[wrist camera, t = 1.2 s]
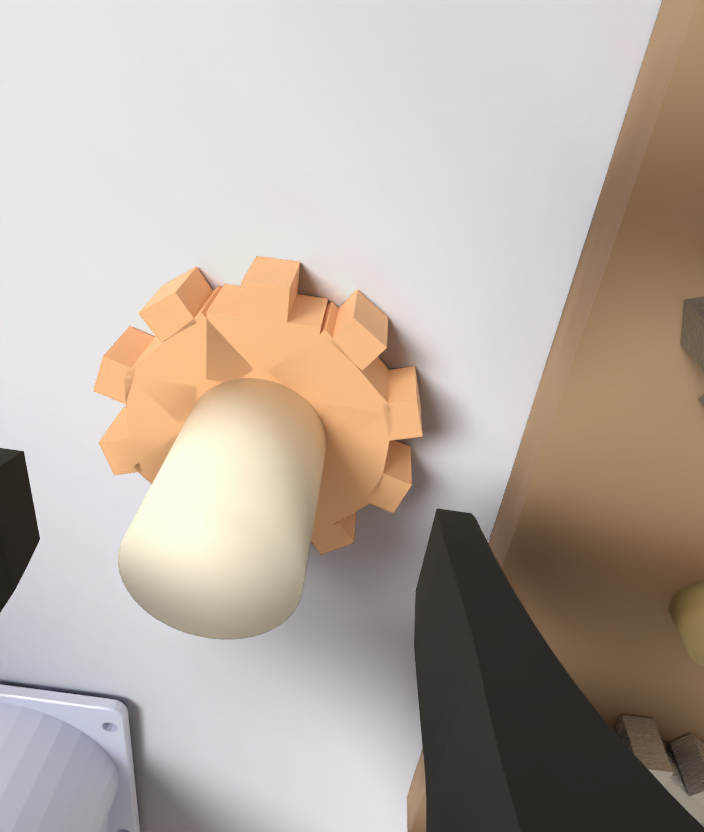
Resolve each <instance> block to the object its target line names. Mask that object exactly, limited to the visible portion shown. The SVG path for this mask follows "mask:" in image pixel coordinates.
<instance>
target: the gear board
mask: <svg viewBox="0 0 704 832" xmlns="http://www.w3.org/2000/svg"><path fill="white" fill-rule="evenodd" d="M698 297H704V0H662V3H661V6H660V9H659V12H658V15H657V19H656V22H655V25H654V28H653V31H652V34H651V37H650V40H649V44H648V47H647V50H646V53H645V56H644V59H643V62H642V65H641V69H640V72H639V75H638V78H637V81H636V84H635V87H634V90H633V94H632V97H631V100H630V103H629V106H628V109H627V112H626V115H625V119H624V122H623V125H622V128H621V131H620V134H619V137H618V140H617V143H616V147H615V150H614V153H613V156H612V159H611V162H610V165H609V168H608V172H607V175H606V178H605V181H604V184H603V187H602V190H601V193H600V197H599V200H598V203H597V206H596V209H595V212H594V215H593V218H592V222H591V225H590V228H589V231H588V234H587V237H586V240H585V243H584V247H583V250H582V253H581V256H580V259H579V262H578V265H577V268H576V272H575V275H574V278H573V281H572V284H571V287H570V290H569V293H568V297H567V300H566V303H565V306H564V309H563V312H562V315H561V318H560V321H559V325H558V328H557V331H556V334H555V337H554V340H553V343H552V346H551V350H550V353H549V356H548V359H547V362H546V365H545V368H544V371H543V375H542V378H541V381H540V384H539V387H538V390H537V393H536V396H535V400H534V403H533V406H532V409H531V412H530V415H529V418H528V421H527V425H526V428H525V431H524V434H523V437H522V440H521V443H520V446H519V450H518V453H517V456H516V459H515V462H514V465H513V468H512V471H511V474H510V478H509V481H508V484H507V487H506V490H505V493H504V496H503V499H502V503H501V506H500V509H499V512H498V515H497V518H496V521H495V524H494V528H493V531H492V534H491V537H490V540H489V543H488V544H489V546H490V548H491V550H492V552H493V554H494V556H495V558H496V559H497V561H498V563H499V565H500V567H501V568H502V570H503V572H504V574H505V576H506V577H507V579H508V581H509V583H510V584H511V586H512V588H513V590H514V591H515V593H516V595H517V596H518V598H519V599H520V601H521V603H522V604H523V606H524V608H525V609H526V611H527V613H528V614H529V616H530V618H531V619H532V621H533V622H534V624H535V625H536V627H537V628H538V630H539V632H540V633H541V635H542V636H543V638H544V639H545V641H546V642H547V644H548V645H549V646H550V648H551V649H552V651H553V652H554V654H555V655H556V657H557V658H558V660H559V661H560V663H561V664H562V665H563V667H564V668H565V669H566V671H567V672H568V674H569V675H570V676H571V678H572V679H573V680H574V682H575V683H576V684H577V686H578V687H579V688H580V690H581V691H582V692H583V694H584V695H585V696H586V697H587V699H588V700H589V701H590V703H591V704H592V705H593V706H594V708H595V709H596V710H597V711H598V713H599V714H600V715H601V716H602V718H603V719H604V720H605V721H606V722H607V724H608V725H609V726H610V727H611V728H612V730H613V729H614V727H615V725H616V723H617V722H618V720H619V718H620V717H621V715H629V716H637V717H644V718H652V719H654V721H655V724H656V727H657V729H658V732H659V735H660V738H661V740H663V741H665V742H667V743H669V744H670V742H672V741H675V740H677V739H679V738H682V737H684V736H686V735H688V734H691V733H692V734H694V735H695V736H696V737H697V738H699V739H700V740H701V741H702V742H704V406H703V405H702V403H701V402H700V401H699V400H698V398H700V397H701V396H703V395H704V371H703V370H702V369H701V368H700V367H699V365H698V364H697V363H696V362H695V361H694V360H693V359H692V357H691V356H690V355H689V354H688V353H687V352H686V350H685V349H684V348H683V347H682V346H681V345H680V344H681V331H682V318H683V305H684V300H685V299H692V298H698ZM407 829H408V832H426V786H425V768H424V756H423V749H422V752H421V756H420V759H419V762H418V765H417V768H416V771H415V774H414V777H413V780H412V784H411V787H410V790H409V793H408V796H407Z"/></svg>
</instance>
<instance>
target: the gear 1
mask: <svg viewBox="0 0 704 832" xmlns="http://www.w3.org/2000/svg"><path fill="white" fill-rule="evenodd" d="M613 731H614V732H615V733H616V734H617V736H618V737H619V738H620V739H621V740H622V741H623V743H624V744H625V745H626V746H627V747H628V748H629V749H630V750H631V751H632V752H633V754H634V755H635V756H636V757H637V758H638V759H639V760H640V761H641V762H642V763H643V764H644V765H645V767H646V768H647V769H648V770H649V771H650V772H651V773H652V774H653V775H654V776H655V777H656V778H657V780H658V781H659V782H660V783H661V784H662V785H663V786H664V787H665V788H666V789H667V790H668V791H669V793H670V794H671V795H672V796H673V797H674V798H675V799H676V800H677V801H678V802H679V803H680V804H681V805H682V806H683V807H684V808H685V809H686V810H687V811H688V812H689V813H690V814H691V815H692V816H693V817H694V818H695V819H696V820H697V821H698V822H699V823H700V824H701V825H702V826H703V827H704V742H702V741H701V740H700V739H699V738H697V737H696V736H695V735H694V734H692V733H691V734H688V735H686V736H684V737H682V738H679V739H677V740H675V741H672V742H670V744H669V743H667V742H665V741H663V740H661V738H660V735H659V732H658V729H657V727H656V724H655V721H654V719H652V718H644V717H637V716H629V715H621V717H620V718H619V720H618V722H617V723H616V725H615V727H614V729H613Z"/></svg>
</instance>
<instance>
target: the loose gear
mask: <svg viewBox="0 0 704 832" xmlns="http://www.w3.org/2000/svg"><path fill="white" fill-rule="evenodd" d="M299 270H300V262H295V261H288V260H281V259H274V258H267V257H260V256H256V258H255V260H254V261H253V263H252V265H251V266H250V268H249V270H248V271H247V273H246V275H245V276H244V278H243V280H242V282H241V286H235V285H228V284H224V286H223V287H221V286H220V285H219V286H218V287H217V288H216V289H214V290H212V288H211V287H210V285H209V284H208V282H207V281H206V280H205V278H204V277H203V275H202V274H201V272H200V271H199V269H198V268H197V267H195V268H193V269H191V270H190V271H188V272H186V273H184V274H182V275H181V276H179V277H177V278H175V279H174V280H172V281H170V282H168V283H167V284H165V285H163V286H162V287H161V288H160V289H159V290H158V292H157V293H156V294H155V295H154V296H153V297H152V298H151V299H150V301H149V302H148V303H147V304H146V305H145V306H144V307H143V308H142V310H141V311H140V312H139V314H140V316H141V317H142V318H143V320H144V321H145V322H146V324H147V325H148V326H149V328H150V329H151V330H152V332H153V333H154V334H155V336H156V337H154V336H151V335H149V334H147V333H144V332H142V331H140V330H138V329H135V328H133V327H131V326H129V328H128V329H127V330H126V331H125V332H124V333H123V334H122V335H121V337H120V338H119V339H118V340H117V341H116V342H115V343H114V345H113V346H112V347H111V348H110V349H109V350H108V351H107V353H106V354H105V355H104V356H103V359H102V362H101V366H100V369H99V373H98V376H97V380H96V383H95V387H94V390H93V391H94V392H97V393H99V394H102V395H104V396H107V397H109V398H112V399H114V400H116V401H119V402H121V403H124V404H126V407H123V409H122V410H121V412H120V413H119V414H118V416H117V417H116V419H115V420H114V421H113V423H112V424H111V426H110V427H109V428H108V430H107V431H106V433H105V434H104V435H103V437H102V438H101V440H100V441H99V444H100V446H101V449H102V451H103V453H104V455H105V457H106V459H107V461H108V463H109V466H110V468H111V470H112V472H113V474H114V475H119V474H127V473H135V472H139V473H140V474H141V475H142V476H143V477H144V478H145V479H146V480H148V481H149V482H150V483H151V484H152V485H151V487H150V489H149V491H148V493H147V495H146V497H145V499H144V500H143V502H142V504H141V506H140V508H139V510H138V512H137V514H136V515H135V517H134V519H133V521H132V523H131V525H130V527H129V529H128V531H127V532H126V534H125V536H124V538H123V540H122V543H121V545H120V548H119V554H118V567H119V572H120V576H121V578H122V581H123V583H124V585H125V587H126V589H127V591H128V592H129V593H130V595H131V596H132V598H133V599H134V600H135V601H136V602H137V603H138V604H139V605H140V606H141V607H142V608H143V609H144V610H145V611H146V612H148V613H149V614H150V615H152V616H153V617H155V618H156V619H157V620H159V621H161V622H163V623H164V624H166V625H168V626H170V627H173V628H175V629H177V630H180V631H182V632H185V633H188V634H192V635H196V636H200V637H205V638H212V639H242V638H248V637H253V636H256V635H260V634H263V633H265V632H268V631H270V630H272V629H274V628H276V627H277V626H279V625H281V624H282V623H283V622H284V621H286V620H287V619H288V618H289V617H290V616H291V615H292V613H293V612H294V611H295V609H296V608H297V606H298V604H299V601H300V599H301V596H302V591H303V585H304V579H305V573H306V567H307V562H308V556H309V550H310V544H311V542H312V544H313V545H314V546H315V548H316V549H317V550H318V552H319V553H320V554H321V555H323V554H325V553H328V552H331V551H333V550H336V549H339V548H342V547H344V546H347V545H350V544H352V543H354V536H355V525H356V513H357V511H358V510H360V509H362V508H363V507H365V506H367V505H369V504H372V505H374V506H377V507H379V508H382V509H384V510H387V511H389V512H391V513H394V511H395V510H396V508H397V507H398V505H399V504H400V502H401V501H402V499H403V498H404V496H405V495H406V493H407V492H408V490H409V489H410V487H411V486H412V475H411V447H410V446H407V445H405V444H403V443H400V442H398V441H396V440H399V439H407V438H415V437H423V435H422V418H421V401H420V394H419V388H418V382H417V375H416V369H415V366H412V367H405V368H398V369H391V370H389V369H388V368H387V367H386V365H385V364H384V363H383V362H382V361H381V359H380V358H379V357H378V356H379V355H380V354H381V353H382V352H383V351H384V350H385V349H386V348H387V336H388V317H387V316H386V315H385V314H384V313H383V312H382V311H381V310H380V309H378V308H377V307H376V306H375V305H374V304H373V303H372V302H371V301H370V300H369V299H368V298H367V297H365V296H364V295H363V294H362V293H361V292H360V291H359V290H358V289H357V290H356V291H355V292H354V293H353V294H352V295H351V296H350V297H349V298H348V299H347V300H346V301H345V302H344V303H343V304H342V305H341V306H340V307H339V308H338V307H337V306H336V305H335V303H334V302H333V301H332V302H331V303H329V304H328V305H327V303H328V298H321V297H314V296H306V295H299V294H298V282H299Z"/></svg>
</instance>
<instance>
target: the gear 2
mask: <svg viewBox="0 0 704 832" xmlns="http://www.w3.org/2000/svg"><path fill="white" fill-rule="evenodd" d="M680 345H681V346H682V347H683V348H684V349H685V350H686V352H687V353H688V354H689V355H690V356H691V357H692V359H693V360H694V361H695V362H696V363H697V364H698V365H699V367H700V368H701V369H702V370H703V371H704V297H698V298H692V299H685V300H684V305H683V318H682V331H681V344H680ZM698 400H699V401H700V402H701V403H702V405H703V406H704V395H703V396H701V397H700V398H698Z"/></svg>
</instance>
